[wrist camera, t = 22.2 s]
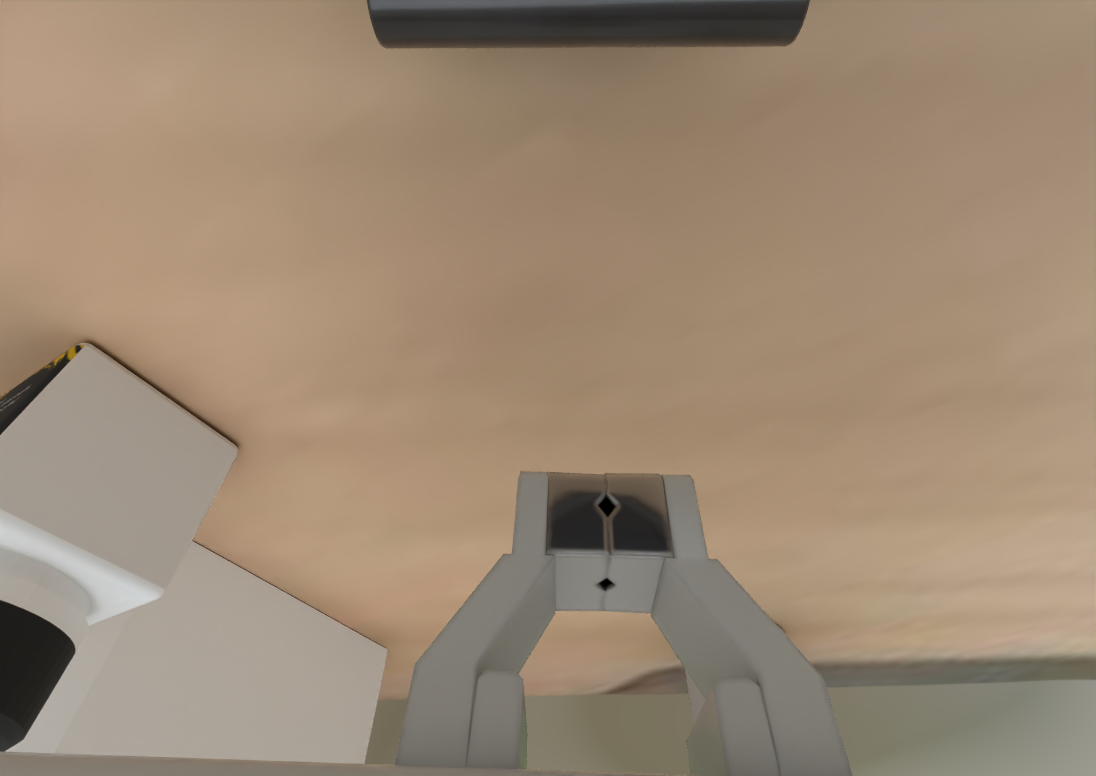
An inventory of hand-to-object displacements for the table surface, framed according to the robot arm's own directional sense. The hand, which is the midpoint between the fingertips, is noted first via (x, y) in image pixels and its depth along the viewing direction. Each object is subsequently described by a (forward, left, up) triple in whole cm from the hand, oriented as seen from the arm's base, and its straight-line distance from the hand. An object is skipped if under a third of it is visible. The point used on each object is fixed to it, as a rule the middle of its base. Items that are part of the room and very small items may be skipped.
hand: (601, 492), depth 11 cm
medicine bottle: (+19, +9, -11) cm, 24 cm away
